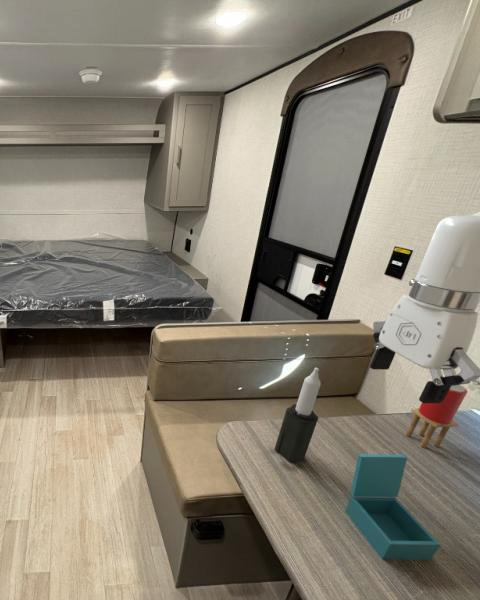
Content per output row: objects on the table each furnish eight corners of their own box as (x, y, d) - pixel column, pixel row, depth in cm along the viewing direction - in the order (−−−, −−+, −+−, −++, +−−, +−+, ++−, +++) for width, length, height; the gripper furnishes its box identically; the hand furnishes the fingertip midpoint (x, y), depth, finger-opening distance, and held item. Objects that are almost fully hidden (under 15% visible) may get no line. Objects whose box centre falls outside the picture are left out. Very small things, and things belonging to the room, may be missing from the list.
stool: (420, 431, 84) (432, 407, 81) (445, 449, 79) (459, 424, 76) (400, 432, 84) (411, 408, 81) (423, 450, 79) (437, 425, 76)
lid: (407, 457, 60) (403, 454, 61) (361, 457, 60) (358, 454, 61) (397, 497, 62) (393, 494, 62) (353, 496, 62) (350, 493, 63)
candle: (271, 450, 78) (297, 364, 69) (285, 444, 80) (312, 359, 71) (291, 466, 74) (321, 377, 65) (305, 459, 76) (337, 371, 67)
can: (439, 410, 80) (454, 380, 77) (457, 425, 75) (475, 394, 72) (412, 406, 82) (427, 376, 78) (428, 421, 77) (445, 390, 73)
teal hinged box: (429, 561, 56) (440, 544, 54) (381, 560, 56) (390, 544, 54) (386, 513, 64) (395, 497, 62) (343, 512, 64) (351, 496, 62)
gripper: (373, 278, 59) (344, 358, 65) (482, 318, 43) (429, 418, 49) (414, 279, 59) (381, 358, 65) (538, 318, 43) (478, 418, 49)
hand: (402, 384), depth 57 cm, fingers open, 9 cm apart
